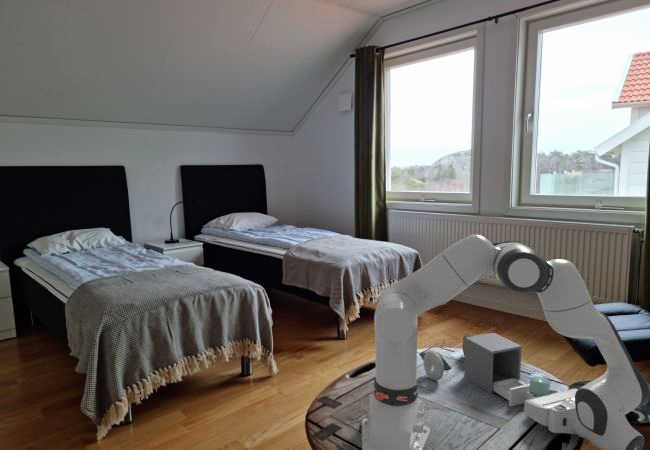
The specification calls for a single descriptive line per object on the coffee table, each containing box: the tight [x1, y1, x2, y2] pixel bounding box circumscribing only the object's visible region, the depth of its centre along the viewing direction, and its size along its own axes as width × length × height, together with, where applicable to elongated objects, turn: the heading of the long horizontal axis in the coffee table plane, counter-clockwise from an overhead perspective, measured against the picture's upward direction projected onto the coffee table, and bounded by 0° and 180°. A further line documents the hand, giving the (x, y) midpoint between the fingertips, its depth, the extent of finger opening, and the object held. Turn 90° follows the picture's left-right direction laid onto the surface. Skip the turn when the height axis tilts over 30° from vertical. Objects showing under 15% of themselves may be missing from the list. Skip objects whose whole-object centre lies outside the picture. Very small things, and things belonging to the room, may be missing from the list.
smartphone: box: [419, 351, 452, 371], centre depth 170 cm, size 8×15×1 cm, turn 5°
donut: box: [422, 349, 445, 382], centre depth 155 cm, size 10×4×10 cm, turn 18°
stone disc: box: [462, 332, 478, 357], centre depth 170 cm, size 10×4×10 cm, turn 7°
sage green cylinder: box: [529, 375, 551, 397], centre depth 134 cm, size 5×5×10 cm
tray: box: [492, 378, 530, 407], centre depth 144 cm, size 12×12×5 cm
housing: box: [463, 332, 522, 394], centre depth 153 cm, size 13×12×14 cm
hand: (536, 391), depth 135 cm, fingers closed on sage green cylinder, 5 cm apart
